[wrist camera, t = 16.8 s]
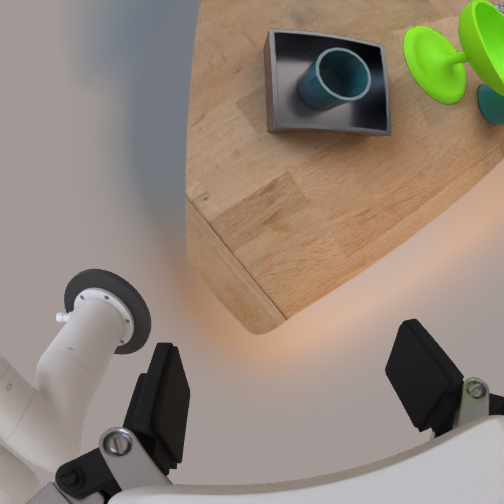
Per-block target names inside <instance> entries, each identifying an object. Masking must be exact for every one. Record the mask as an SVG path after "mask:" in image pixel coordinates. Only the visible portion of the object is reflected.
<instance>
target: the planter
mask: <svg viewBox="0 0 504 504" xmlns="http://www.w3.org/2000/svg"><path fill="white" fill-rule="evenodd" d="M494 6H495V7H496V8H497V9H498V10H499V11H500V12H501V13H502V14H503V15H504V3H500V4H497V5H494Z"/></svg>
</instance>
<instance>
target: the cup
mask: <svg viewBox="0 0 504 504" xmlns="http://www.w3.org/2000/svg"><path fill="white" fill-rule="evenodd" d="M478 101H479V106H480V109H481V111H482V114H483V115H484V117H485V119H486V120H487V121H488V122H489V123H491V124H493V125H503V126H504V96H502V95H500V94H498V93H497V92H496V91H494V90H493V89H492V88H491V87H490V86H488V85H487V84H483V85H481V86H480V88H479V91H478Z"/></svg>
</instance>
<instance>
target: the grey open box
mask: <svg viewBox="0 0 504 504" xmlns="http://www.w3.org/2000/svg"><path fill="white" fill-rule="evenodd" d="M336 47H338V48H344V49H348V50H350V51H352V52H354V53H356V54H357V55H358V56H359V57H360V58H361V59H362V60H363V61H364V62H365V63H366V65H367V67H368V69H369V71H370V75H371V85H370V88H369V91H368V92H367V93H366V94H365V95H364V96H363V97H362V98H360V99H358V100H355V101H352V102H349V103H346V104H343V105H341V106H338V107H335V108H332V109H329V110H319V109H315V108H313V107H311V106H309V105H308V104H307V103H306V102H305V101H304V100H303V99H302V97H301V96H300V93H299V90H298V81H299V78H300V76H301V75H302V73H303V72H304V71H305V70H306V69H307V68H308V67H309V66H310V65H311V64H312V63H313V61H314V60H315V59H316V58H317V57H318V56H319V55H320V54H322V53H323V52H324V51H325V50H327V49H331V48H336ZM264 64H265V84H266V106H267V131H268V132H310V133H331V134H345V135H357V136H367V137H370V136H391V112H390V96H389V84H388V74H387V65H386V58H385V51H384V45H381V44H377V43H373V42H369V41H365V40H360V39H355V38H350V37H345V36H339V35H333V34H327V33H319V32H311V31H301V30H288V29H269V31H268V34H267V38H266V41H265V45H264Z"/></svg>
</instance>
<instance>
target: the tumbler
mask: <svg viewBox="0 0 504 504" xmlns="http://www.w3.org/2000/svg"><path fill="white" fill-rule="evenodd" d="M370 85H371V75H370V71H369V69H368V67H367V65H366V63H365V62H364V61H363V60H362V59H361V58H360V57H359V56H358V55H357V54H356V53H354V52H352V51H350V50H348V49H344V48H338V47H336V48H331V49H327V50H325V51H324V52H323V53H322V54H320V55H319V56H318V57H317V58H316V59H315V60H314V61H313V63H312V64H311V65H310V66H309V67H308V68H307V69H306V70H305V71H304V72H303V73H302V75H301V76H300V78H299V81H298V90H299V93H300V96H301V97H302V99H303V100H304V101H305V102H306V103H307V104H308V105H309V106H311V107H313V108H315V109H319V110H329V109H332V108H335V107H338V106H341V105H343V104H346V103H349V102H352V101H355V100H358V99H360V98H362V97H363V96H364V95H365V94H366V93H367V92H368V91H369V88H370Z"/></svg>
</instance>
